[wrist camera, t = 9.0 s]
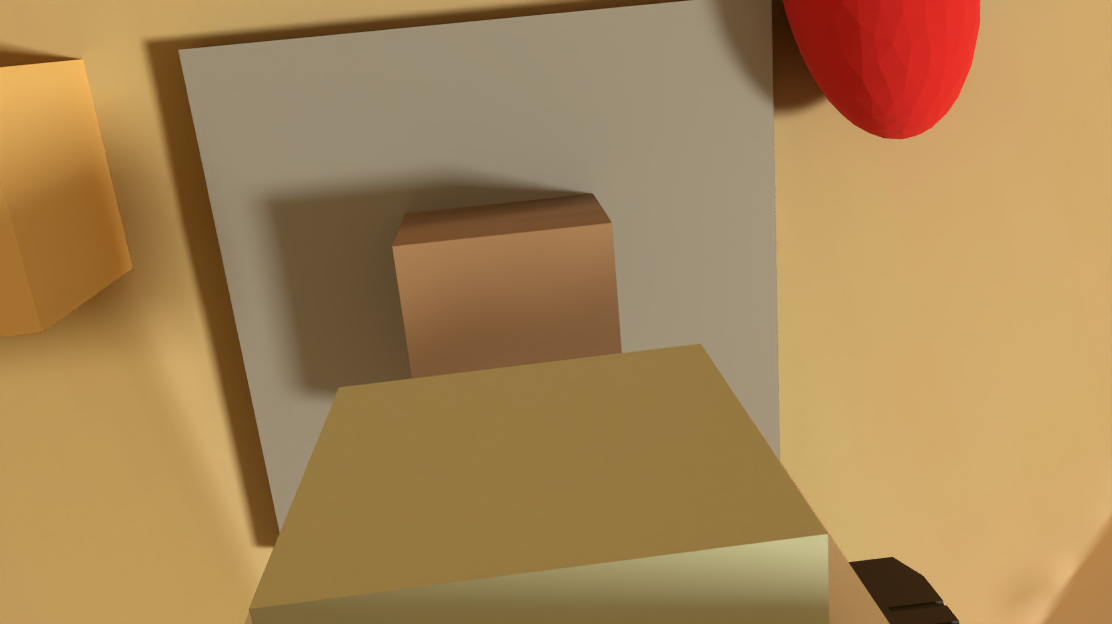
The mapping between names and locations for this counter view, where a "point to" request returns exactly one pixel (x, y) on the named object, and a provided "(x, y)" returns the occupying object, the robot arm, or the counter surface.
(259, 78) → the baseplate
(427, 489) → the sage brick
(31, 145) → the ochre brick
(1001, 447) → the counter surface
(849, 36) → the toy figure
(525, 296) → the brown brick
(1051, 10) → the counter surface
